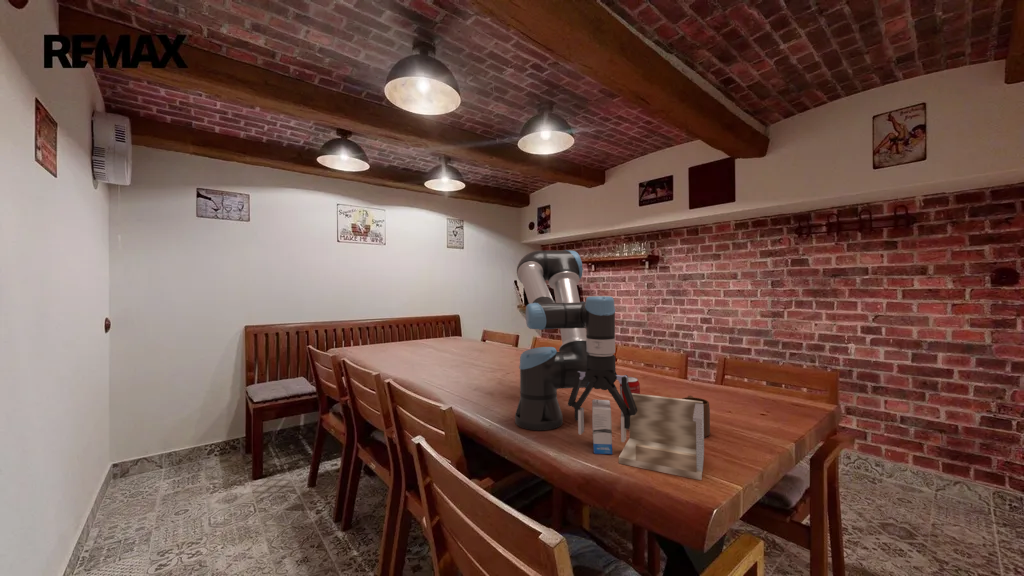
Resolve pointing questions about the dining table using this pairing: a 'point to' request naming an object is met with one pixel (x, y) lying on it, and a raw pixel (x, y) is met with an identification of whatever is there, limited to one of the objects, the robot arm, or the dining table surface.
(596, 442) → the ink box
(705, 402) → the mug
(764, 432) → the dining table surface
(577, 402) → the robot arm
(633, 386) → the beverage can
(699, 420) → the bookend
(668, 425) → the shelf
